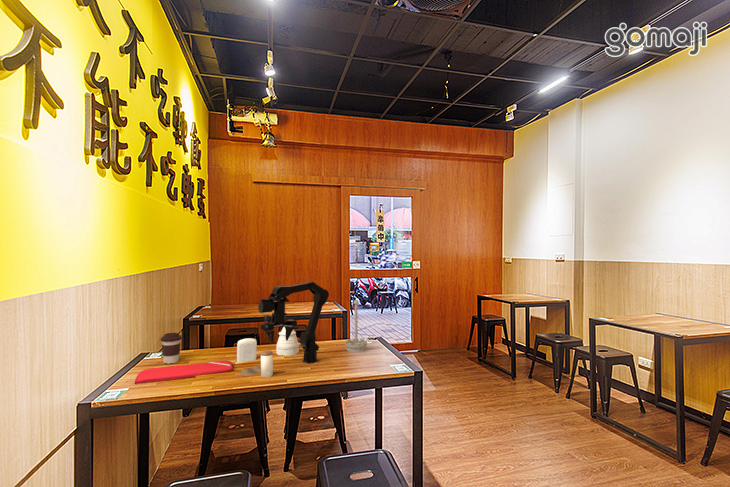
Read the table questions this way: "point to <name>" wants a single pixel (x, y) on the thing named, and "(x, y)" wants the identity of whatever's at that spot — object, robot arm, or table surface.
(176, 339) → the coffee cup
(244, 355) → the photo printer
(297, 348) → the honey pot
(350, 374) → the table surface
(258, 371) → the board
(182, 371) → the dish drying mat
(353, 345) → the flag stand
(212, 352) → the table surface
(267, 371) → the tumbler
